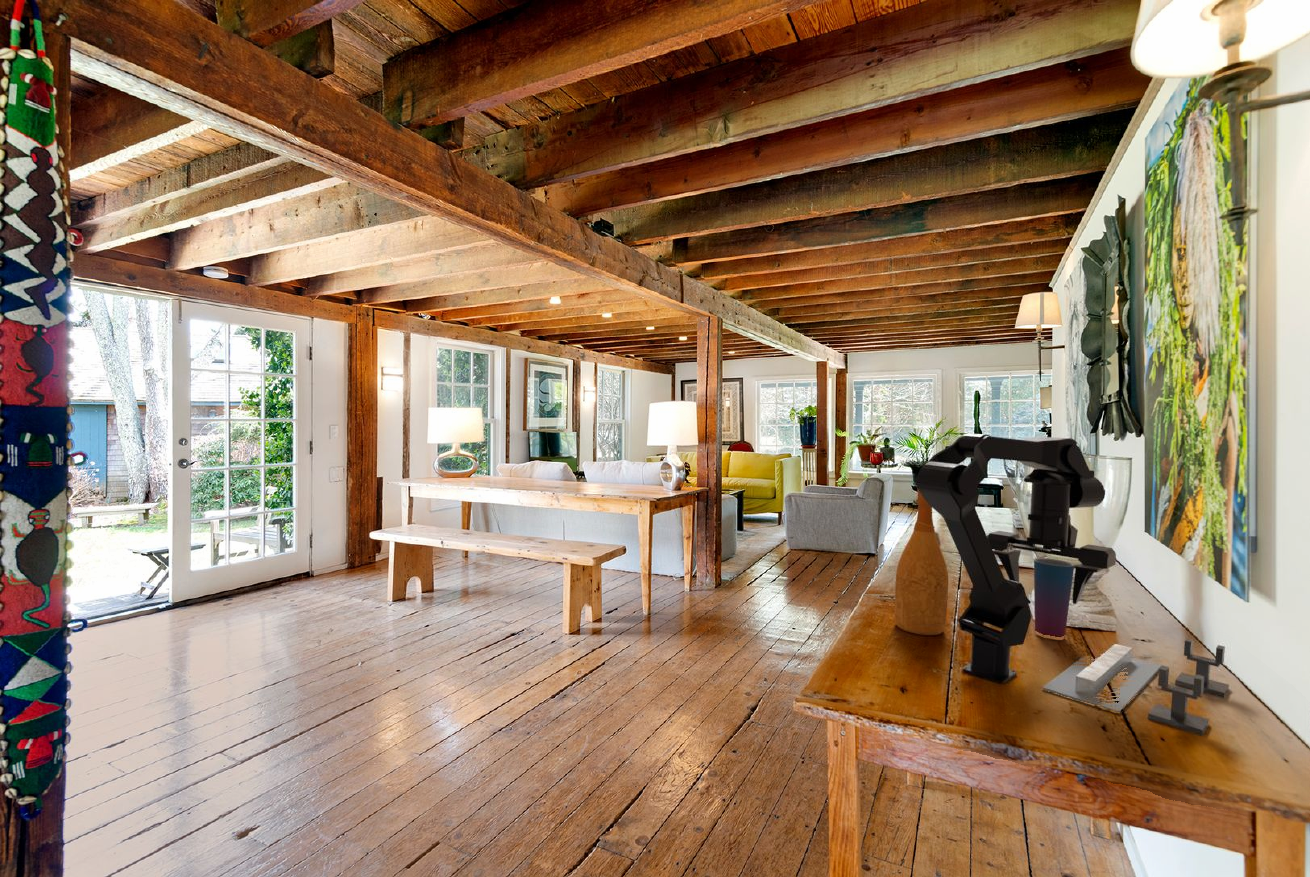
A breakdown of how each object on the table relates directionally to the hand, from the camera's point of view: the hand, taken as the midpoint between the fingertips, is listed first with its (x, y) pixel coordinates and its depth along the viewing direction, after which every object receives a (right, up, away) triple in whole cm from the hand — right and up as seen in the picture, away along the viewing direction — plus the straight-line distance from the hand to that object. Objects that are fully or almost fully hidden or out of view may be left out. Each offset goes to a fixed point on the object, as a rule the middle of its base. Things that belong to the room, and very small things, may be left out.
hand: (1044, 597), depth 109 cm
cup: (+11, -12, +15) cm, 22 cm away
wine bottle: (-15, -11, +17) cm, 25 cm away
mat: (+7, -12, -5) cm, 15 cm away
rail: (+7, -12, -5) cm, 15 cm away
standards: (+14, -13, -13) cm, 23 cm away
